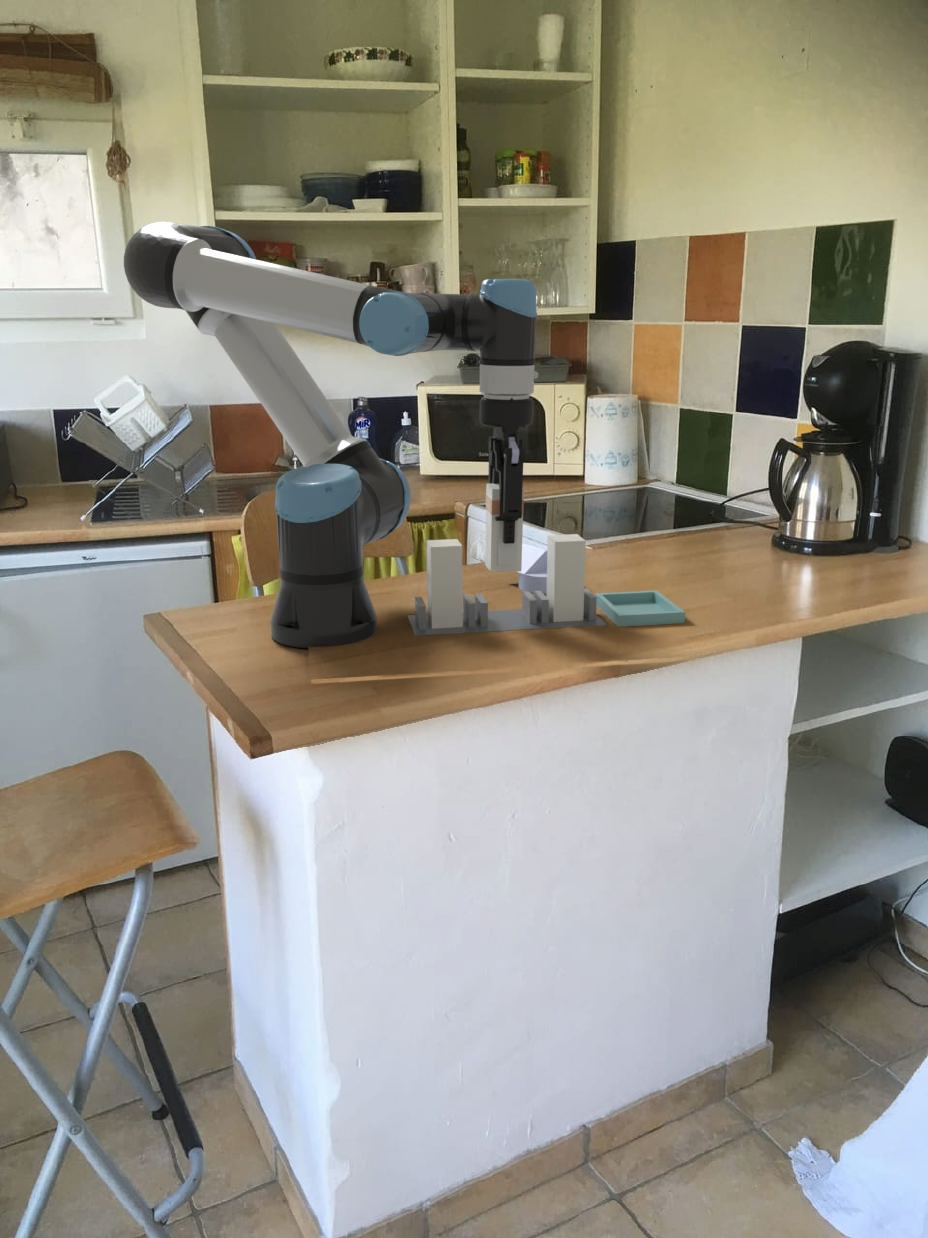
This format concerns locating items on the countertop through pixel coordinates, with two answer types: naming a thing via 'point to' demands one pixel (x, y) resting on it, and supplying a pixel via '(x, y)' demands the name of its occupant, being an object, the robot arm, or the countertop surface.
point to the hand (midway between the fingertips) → (503, 559)
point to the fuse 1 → (444, 583)
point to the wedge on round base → (533, 569)
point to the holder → (504, 616)
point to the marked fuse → (492, 532)
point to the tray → (639, 608)
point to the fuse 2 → (565, 577)
